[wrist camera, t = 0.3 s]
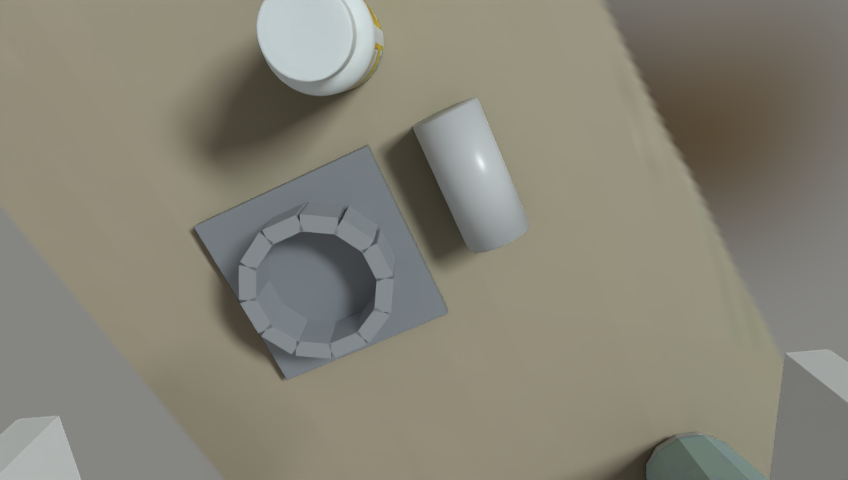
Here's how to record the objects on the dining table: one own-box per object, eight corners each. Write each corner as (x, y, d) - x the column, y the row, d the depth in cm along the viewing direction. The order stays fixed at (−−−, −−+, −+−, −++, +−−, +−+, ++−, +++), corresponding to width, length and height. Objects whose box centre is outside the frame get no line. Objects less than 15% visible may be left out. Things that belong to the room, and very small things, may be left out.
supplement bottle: (387, 88, 32) (375, 97, 23) (297, 92, 33) (249, 104, 23) (380, -12, 31) (363, -43, 22) (285, -6, 31) (228, -35, 22)
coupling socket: (198, 223, 35) (173, 241, 31) (368, 144, 33) (362, 154, 30) (289, 373, 38) (276, 405, 35) (447, 307, 37) (450, 334, 33)
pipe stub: (412, 123, 33) (412, 131, 29) (473, 95, 33) (481, 99, 29) (464, 238, 35) (470, 259, 32) (522, 213, 35) (535, 232, 31)
